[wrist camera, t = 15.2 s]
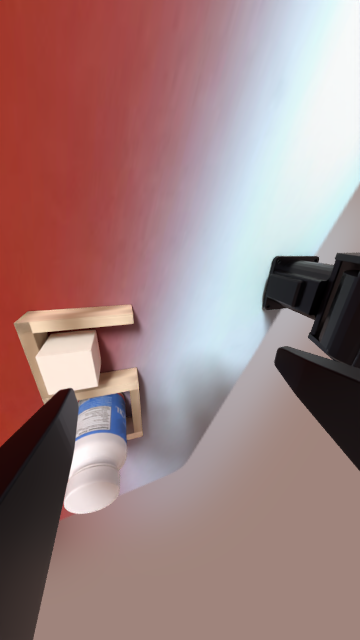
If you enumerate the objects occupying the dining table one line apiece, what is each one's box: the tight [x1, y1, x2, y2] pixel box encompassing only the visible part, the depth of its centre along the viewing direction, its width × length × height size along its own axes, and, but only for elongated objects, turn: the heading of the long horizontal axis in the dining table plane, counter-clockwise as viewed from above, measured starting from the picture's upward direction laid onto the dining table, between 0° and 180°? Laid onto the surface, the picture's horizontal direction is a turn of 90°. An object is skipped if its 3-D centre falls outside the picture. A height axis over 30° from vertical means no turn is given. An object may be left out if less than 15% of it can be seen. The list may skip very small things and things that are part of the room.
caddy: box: [14, 305, 143, 440], centre depth 20 cm, size 9×17×2 cm, turn 178°
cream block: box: [35, 329, 101, 395], centre depth 18 cm, size 4×4×4 cm
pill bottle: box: [64, 392, 127, 514], centre depth 19 cm, size 6×5×10 cm
